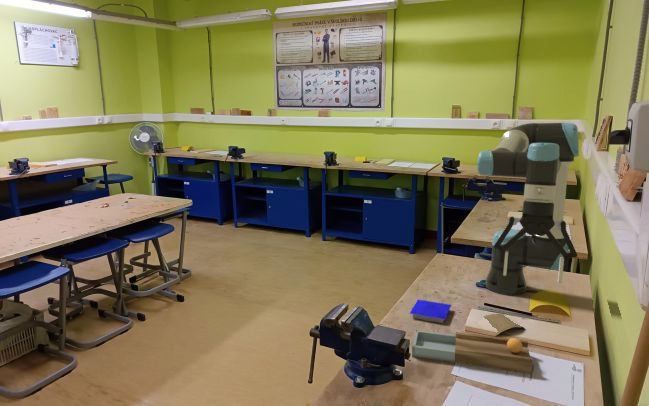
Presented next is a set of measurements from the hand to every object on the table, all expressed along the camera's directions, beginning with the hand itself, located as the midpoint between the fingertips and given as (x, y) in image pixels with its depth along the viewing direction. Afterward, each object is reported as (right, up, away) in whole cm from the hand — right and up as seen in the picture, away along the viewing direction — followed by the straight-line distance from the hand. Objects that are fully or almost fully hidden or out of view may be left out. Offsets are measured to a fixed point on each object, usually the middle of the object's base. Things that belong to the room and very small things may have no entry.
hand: (531, 278), depth 120 cm
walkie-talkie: (+26, -7, +86) cm, 90 cm away
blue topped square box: (-19, -19, +35) cm, 45 cm away
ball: (-3, -20, +4) cm, 20 cm away
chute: (-8, -24, +7) cm, 27 cm away
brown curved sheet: (+2, -21, +26) cm, 33 cm away
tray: (-24, -24, +12) cm, 36 cm away
